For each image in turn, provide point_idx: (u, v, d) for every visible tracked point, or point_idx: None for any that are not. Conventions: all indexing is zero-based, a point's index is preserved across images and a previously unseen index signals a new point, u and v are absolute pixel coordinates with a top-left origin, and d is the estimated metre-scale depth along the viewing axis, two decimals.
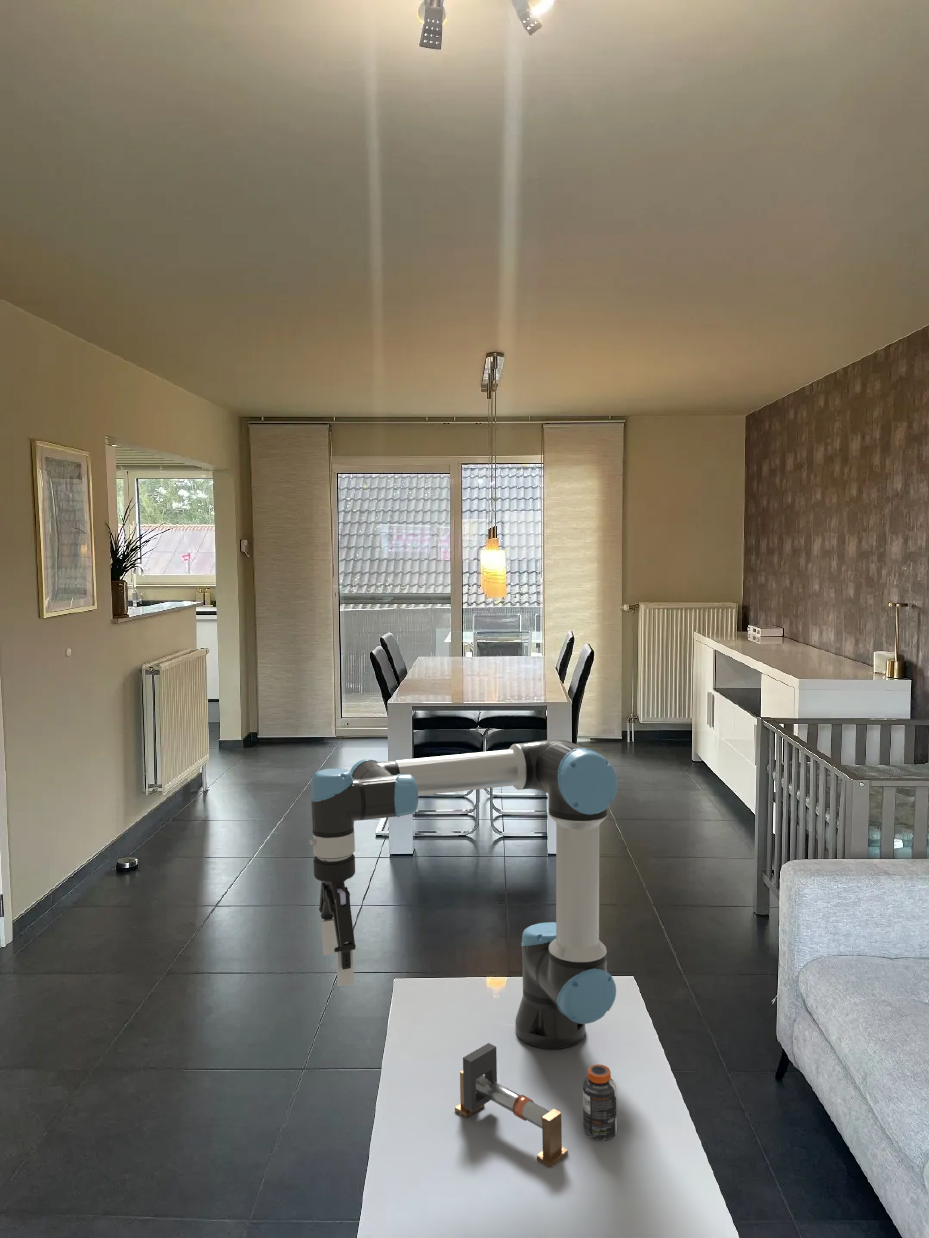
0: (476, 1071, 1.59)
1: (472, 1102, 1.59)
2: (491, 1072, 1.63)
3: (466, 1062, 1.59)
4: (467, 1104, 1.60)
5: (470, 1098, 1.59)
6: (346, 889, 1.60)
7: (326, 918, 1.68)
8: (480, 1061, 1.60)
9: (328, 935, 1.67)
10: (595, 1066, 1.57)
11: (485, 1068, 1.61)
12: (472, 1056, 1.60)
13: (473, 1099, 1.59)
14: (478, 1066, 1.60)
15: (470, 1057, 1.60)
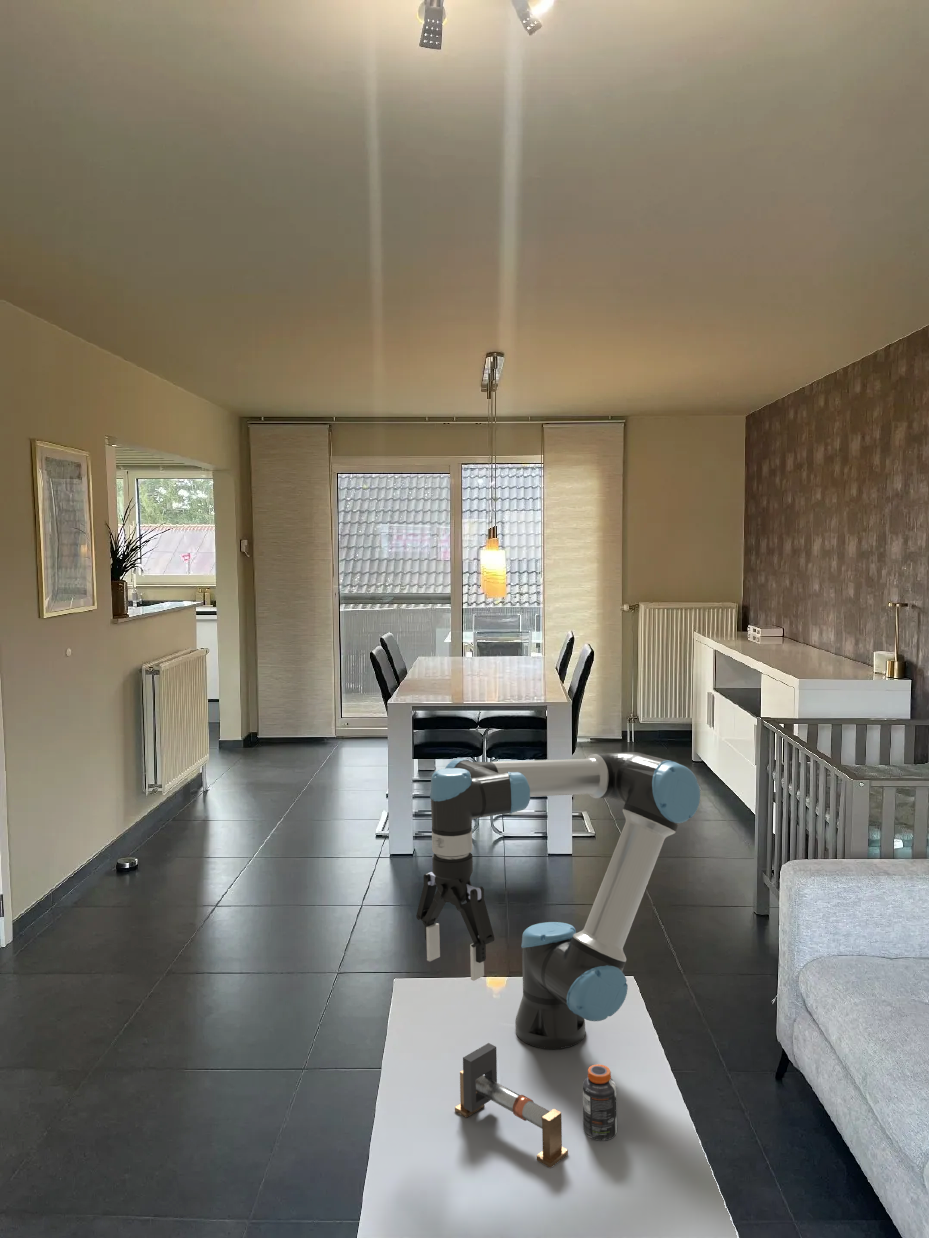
0: (476, 1071, 1.59)
1: (472, 1102, 1.59)
2: (491, 1072, 1.63)
3: (466, 1062, 1.59)
4: (467, 1104, 1.60)
5: (470, 1098, 1.59)
6: None
7: (429, 923, 1.68)
8: (480, 1061, 1.60)
9: (433, 940, 1.68)
10: (595, 1066, 1.57)
11: (485, 1068, 1.61)
12: (472, 1056, 1.60)
13: (473, 1099, 1.59)
14: (478, 1066, 1.60)
15: (470, 1057, 1.60)
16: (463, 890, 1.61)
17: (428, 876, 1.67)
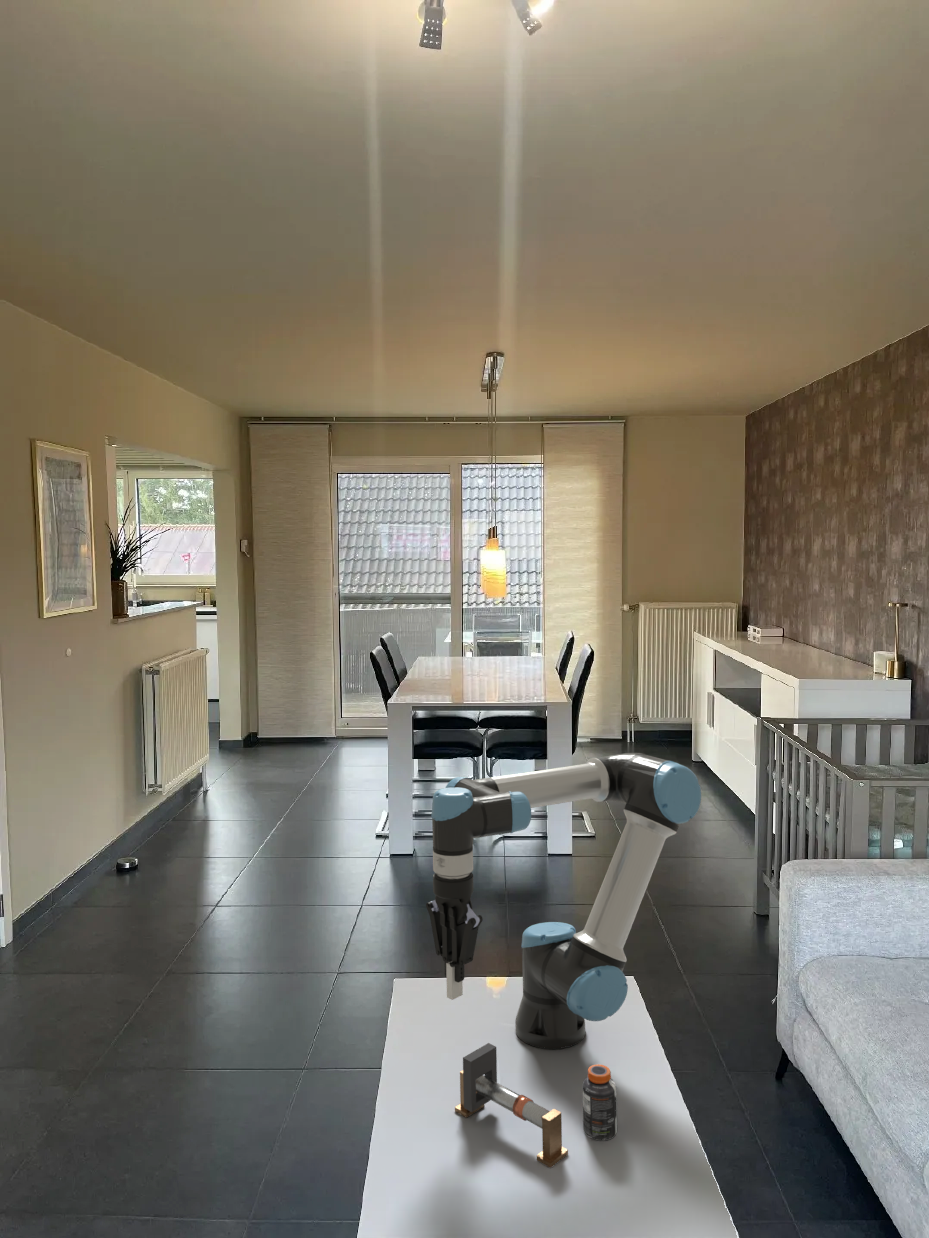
0: (476, 1071, 1.59)
1: (472, 1102, 1.59)
2: (491, 1072, 1.63)
3: (466, 1062, 1.59)
4: (467, 1104, 1.60)
5: (470, 1098, 1.59)
6: None
7: (450, 957, 1.65)
8: (480, 1061, 1.60)
9: None
10: (595, 1066, 1.57)
11: (485, 1068, 1.61)
12: (472, 1056, 1.60)
13: (473, 1099, 1.59)
14: (478, 1066, 1.60)
15: (470, 1057, 1.60)
16: (463, 911, 1.61)
17: (430, 903, 1.67)
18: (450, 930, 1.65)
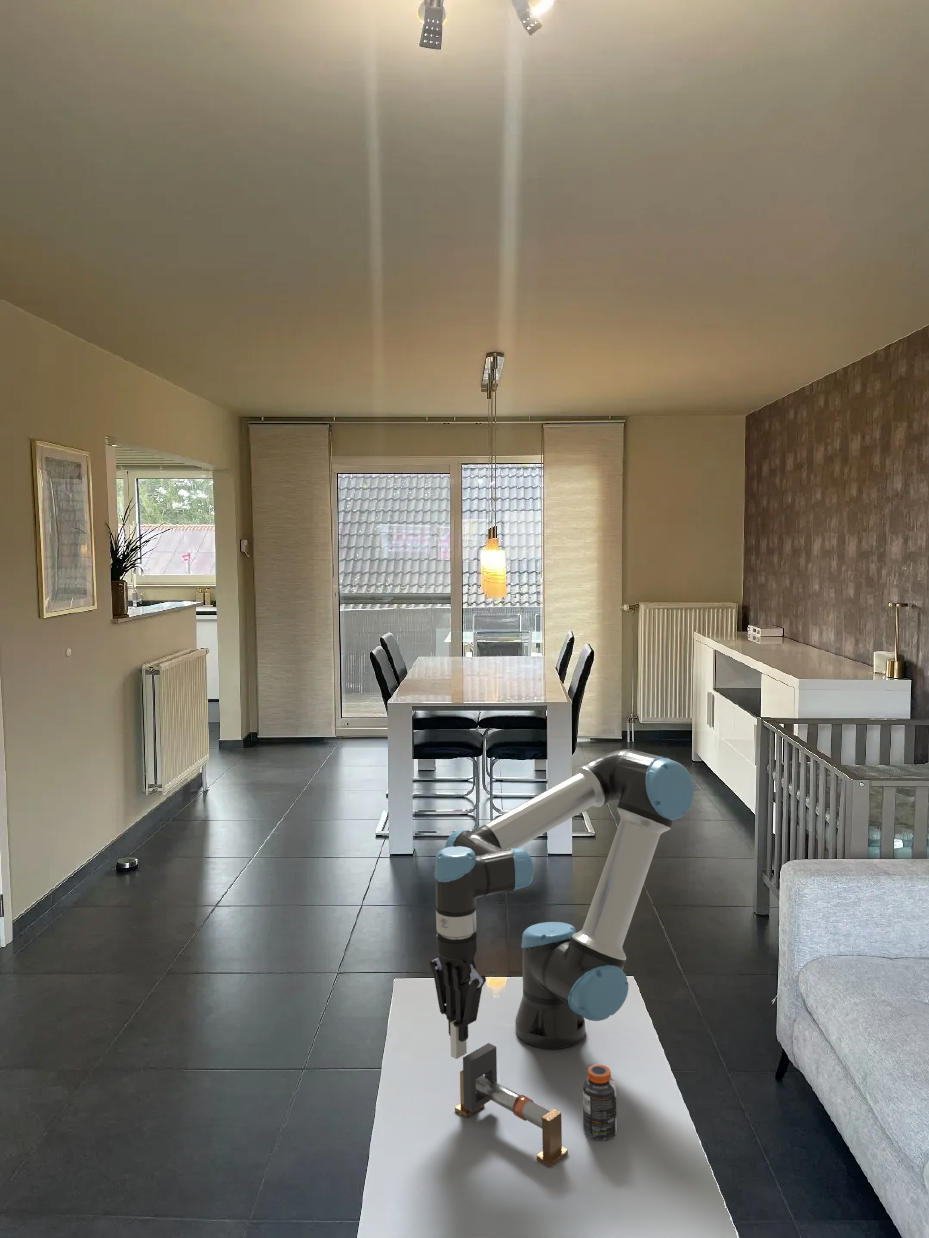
0: (476, 1071, 1.59)
1: (472, 1102, 1.59)
2: (491, 1072, 1.63)
3: (466, 1062, 1.59)
4: (467, 1104, 1.60)
5: (470, 1098, 1.59)
6: None
7: (454, 1016, 1.65)
8: (480, 1061, 1.60)
9: None
10: (595, 1066, 1.57)
11: (485, 1068, 1.61)
12: (472, 1056, 1.60)
13: (473, 1099, 1.59)
14: (478, 1066, 1.60)
15: (470, 1057, 1.60)
16: (466, 972, 1.61)
17: (433, 961, 1.68)
18: (454, 989, 1.65)
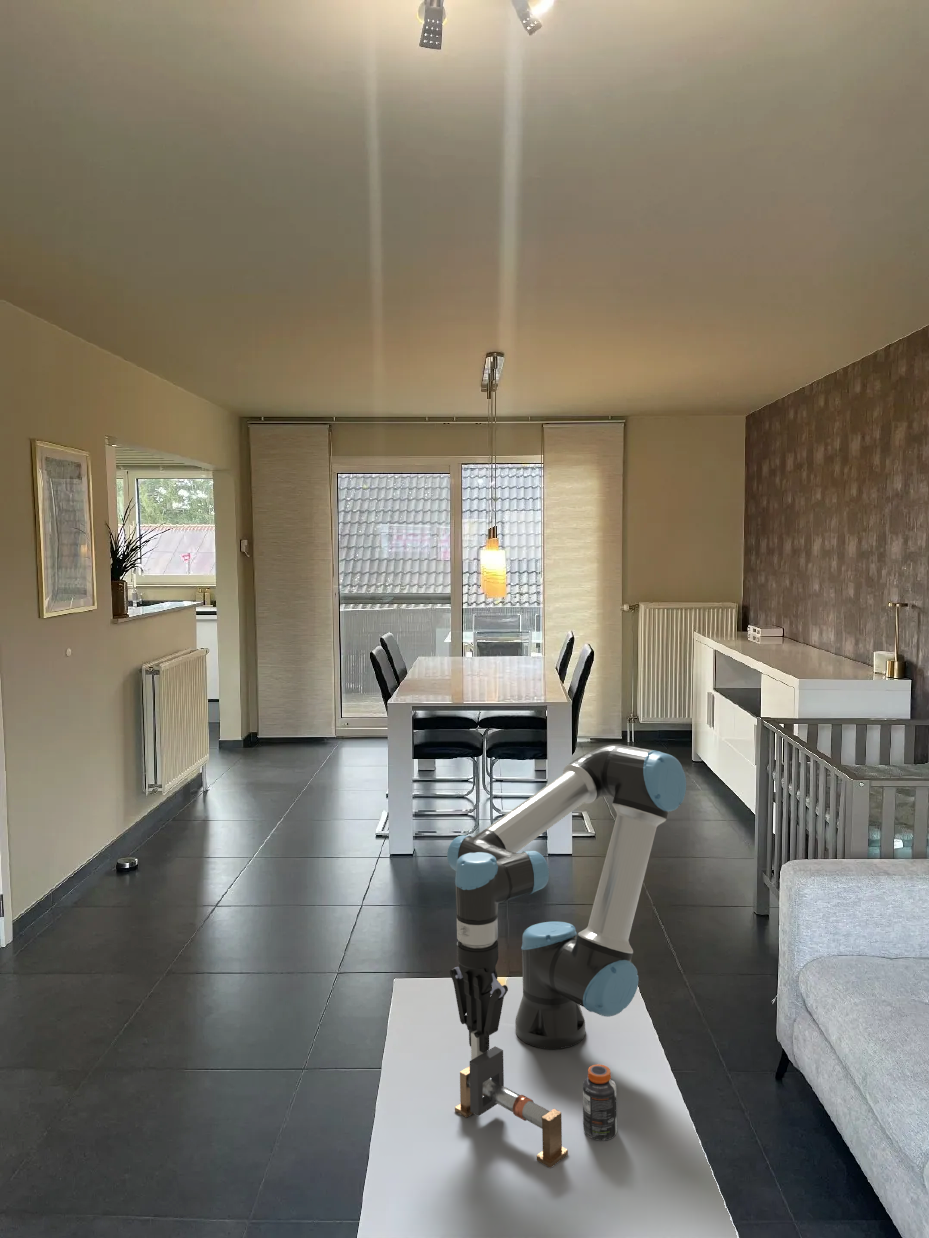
0: (483, 1075, 1.58)
1: (479, 1106, 1.58)
2: (498, 1076, 1.61)
3: (473, 1066, 1.58)
4: (473, 1108, 1.58)
5: (477, 1102, 1.58)
6: None
7: (474, 1027, 1.61)
8: (487, 1065, 1.59)
9: None
10: (595, 1066, 1.57)
11: (492, 1072, 1.60)
12: (478, 1059, 1.59)
13: (480, 1103, 1.58)
14: (485, 1069, 1.59)
15: (477, 1061, 1.58)
16: (488, 981, 1.57)
17: (453, 970, 1.64)
18: (474, 998, 1.61)
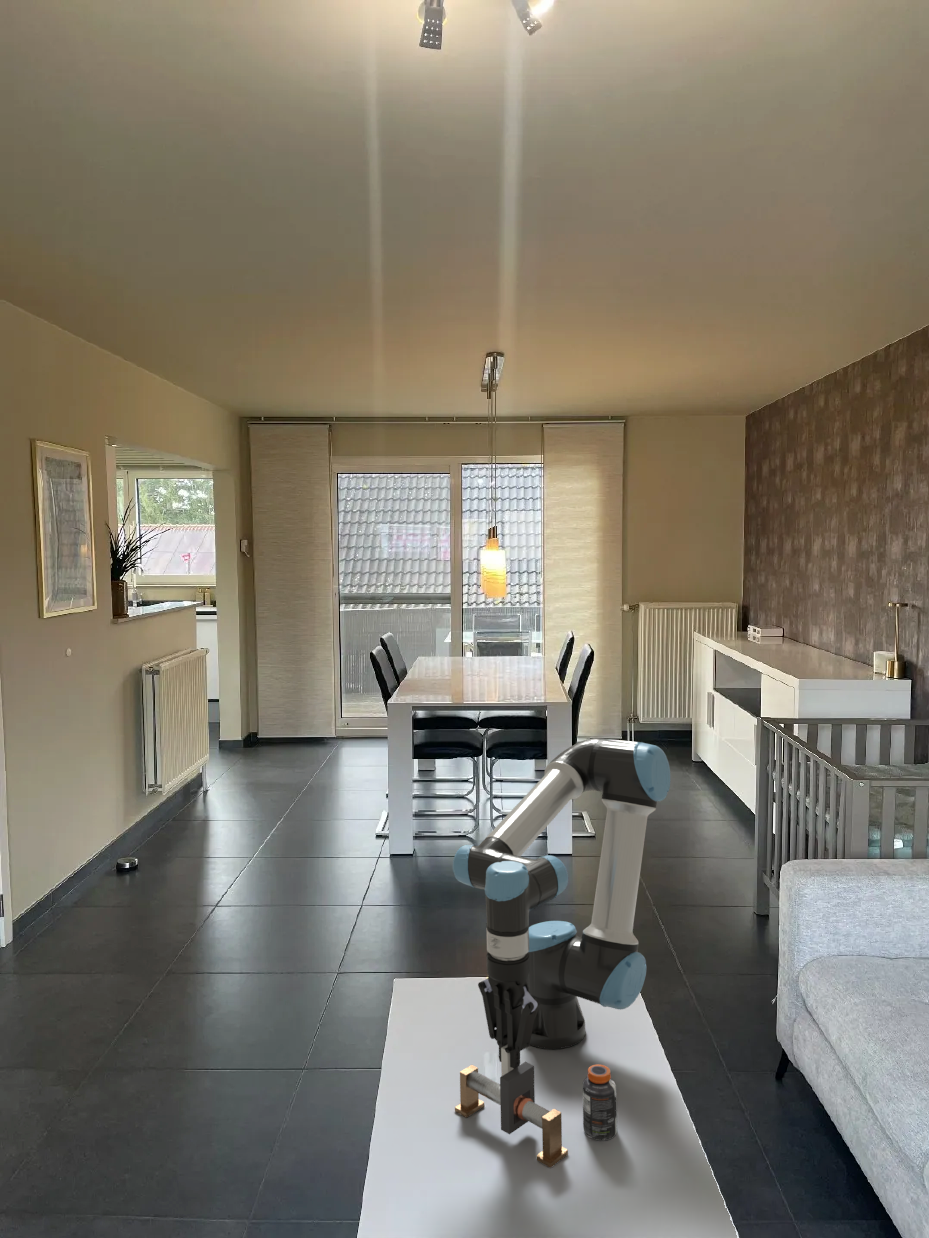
0: (514, 1092, 1.53)
1: (510, 1124, 1.52)
2: (529, 1092, 1.56)
3: (504, 1082, 1.53)
4: (504, 1125, 1.53)
5: (508, 1120, 1.52)
6: None
7: (505, 1041, 1.56)
8: (518, 1081, 1.54)
9: None
10: (595, 1066, 1.57)
11: (523, 1088, 1.55)
12: (509, 1075, 1.53)
13: (511, 1121, 1.53)
14: (516, 1086, 1.53)
15: (508, 1077, 1.53)
16: (519, 995, 1.52)
17: (482, 983, 1.58)
18: (505, 1012, 1.56)
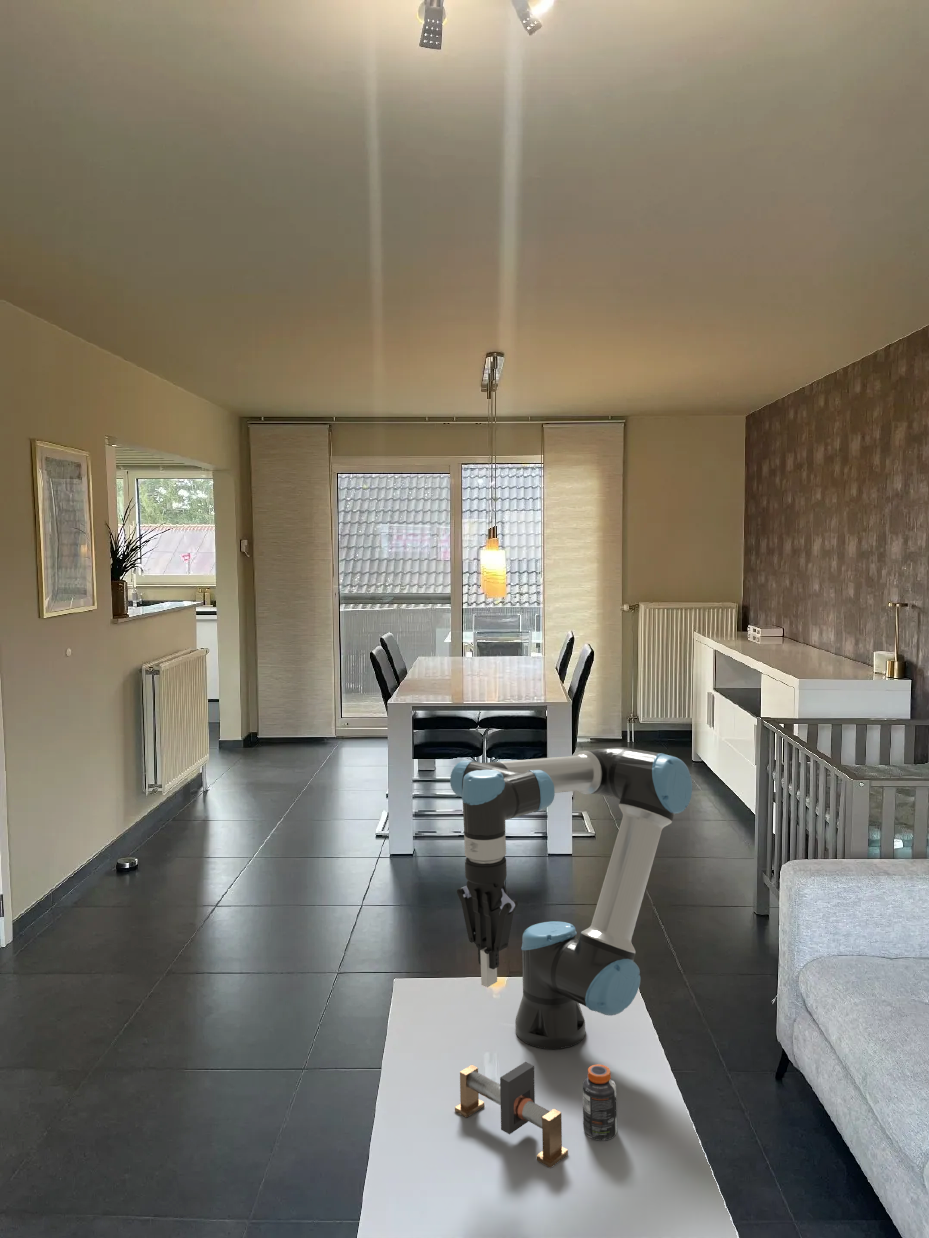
0: (514, 1092, 1.53)
1: (510, 1124, 1.52)
2: (529, 1092, 1.56)
3: (504, 1082, 1.53)
4: (504, 1125, 1.53)
5: (508, 1120, 1.52)
6: None
7: (484, 944, 1.60)
8: (518, 1081, 1.54)
9: None
10: (595, 1066, 1.57)
11: (523, 1088, 1.55)
12: (509, 1076, 1.53)
13: (511, 1121, 1.53)
14: (516, 1086, 1.53)
15: (508, 1077, 1.53)
16: (497, 897, 1.57)
17: (461, 889, 1.63)
18: (483, 916, 1.60)
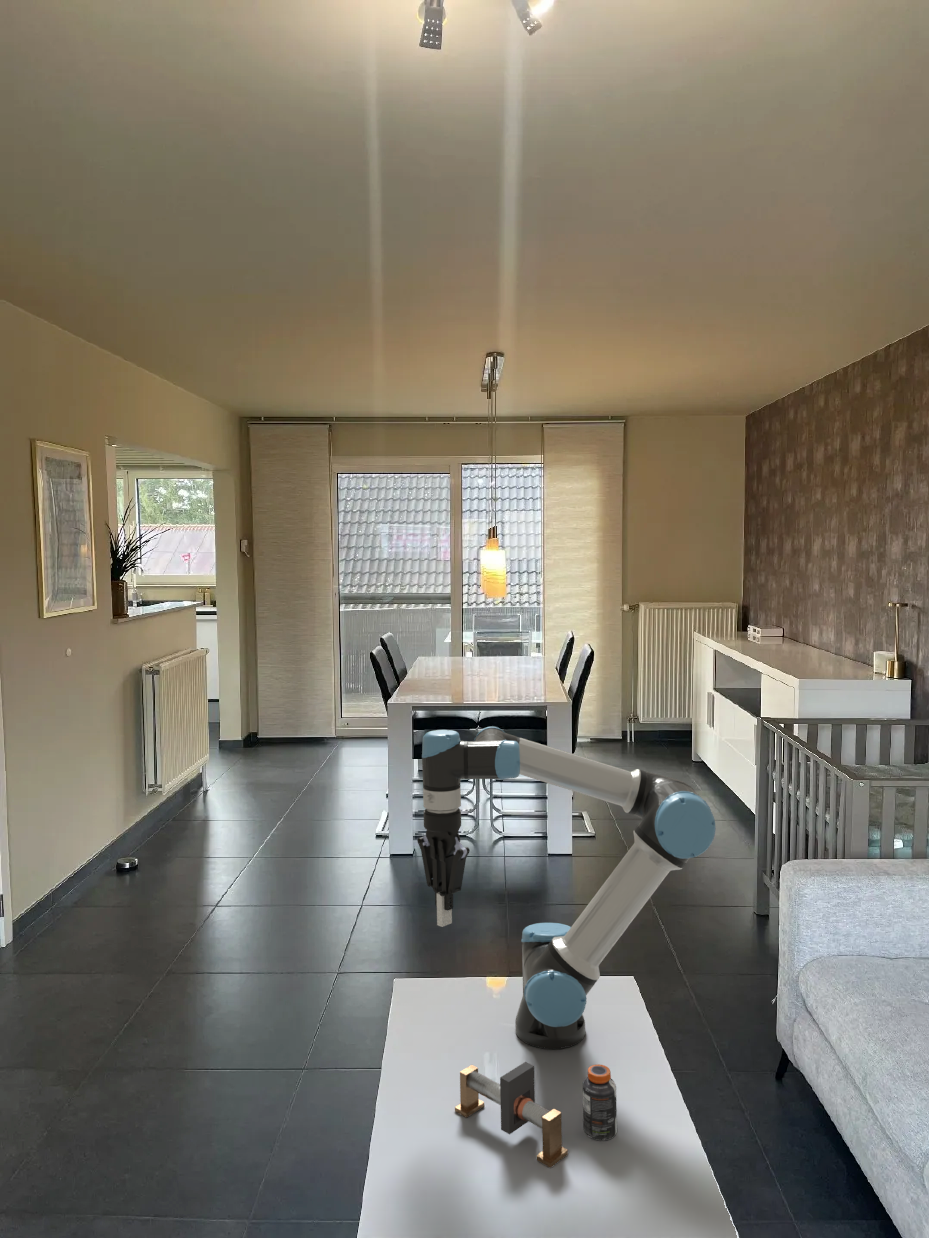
0: (514, 1092, 1.53)
1: (510, 1124, 1.52)
2: (529, 1092, 1.56)
3: (504, 1082, 1.53)
4: (504, 1125, 1.53)
5: (508, 1120, 1.52)
6: None
7: (440, 888, 1.77)
8: (518, 1081, 1.54)
9: None
10: (595, 1066, 1.57)
11: (523, 1088, 1.55)
12: (509, 1076, 1.53)
13: (511, 1121, 1.53)
14: (516, 1086, 1.53)
15: (508, 1077, 1.53)
16: (451, 844, 1.73)
17: (421, 838, 1.79)
18: (440, 862, 1.77)
